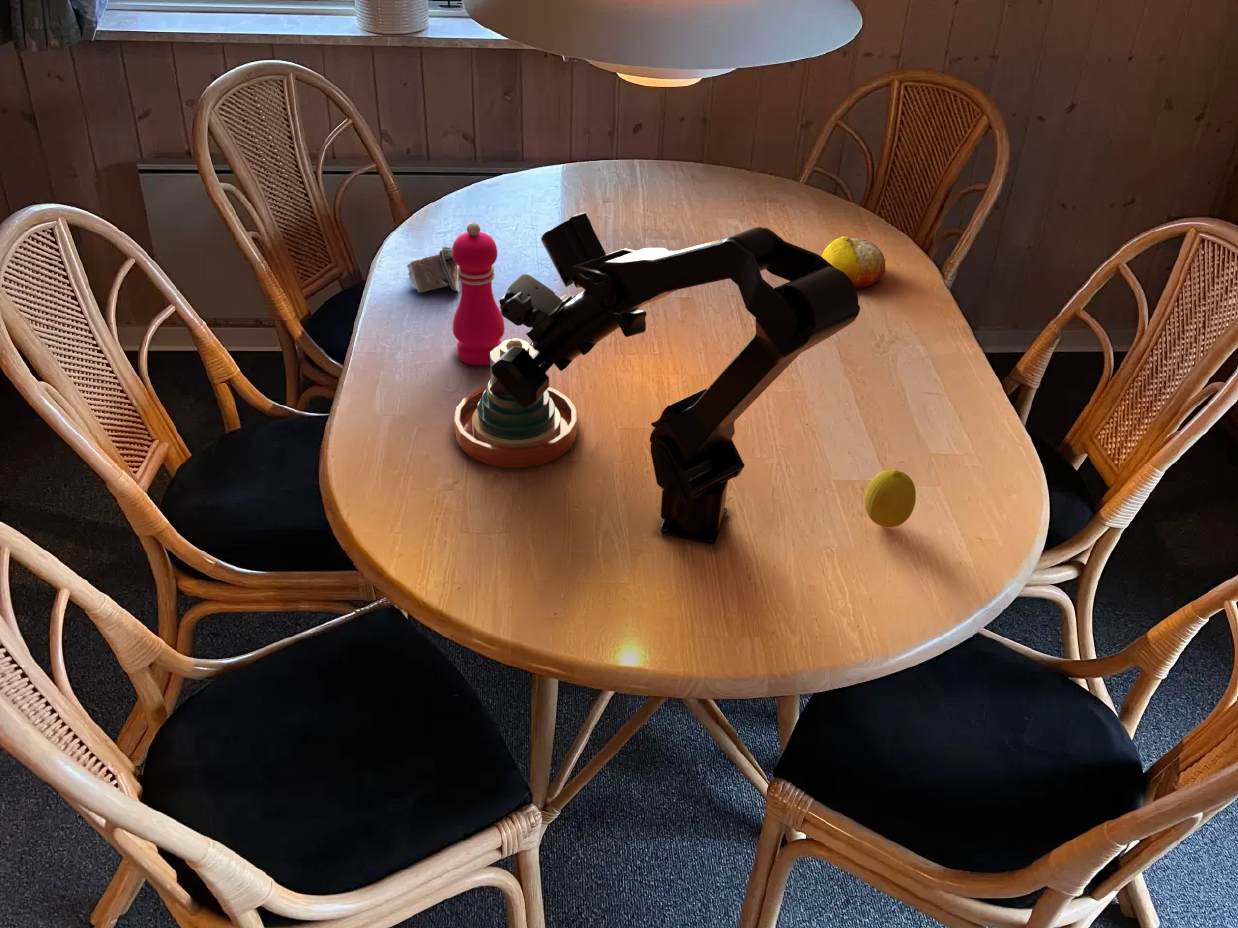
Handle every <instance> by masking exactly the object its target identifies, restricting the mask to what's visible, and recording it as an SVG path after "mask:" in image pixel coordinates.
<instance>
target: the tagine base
mask: <svg viewBox="0 0 1238 928" xmlns="http://www.w3.org/2000/svg"><path fill="white" fill-rule="evenodd" d="M486 389H487V386H486V387H481V388H479V389H477V390H475V391H474V392H472V393H470V394H469V395H467V396H465V397H464V398H463V399H462V400H461V401H460V403H459V404H458V406H456V407H455V410H454V411H455V412H454V418H453V425H454V426H453V427H454V433H455V439H456V442H457V444H458V446H459V447H460V448H461V450H462V451H463V452H464V453H466V454H467V455H468V456H470V457H471V458H473V459H475V460H476V461H479V462H481V463H484V464H486V465H490V466H495V467H501V468H529V467H535V466H538V465H543V464H546V463H549V462H551V461H553V460H556V459H557V458H559V457H561V456H562V455H563V454H565V453H566V452H567V451H568V450H569V449H571V447H572V446H573V444H574V443H575V441H576V438H577V431H578V414H577V413H578V412H577V411H578V409H577V408H576V406H575V405H574V403H573V402H572V401H571V399H570V398H569V397H568V396H566V395H565V394H563V393H562V392H560V391H559V390H557V389H555V388H552V387H550V386H549V387H548V389H547V391H548V393H549V396H550V398H551V399H552V400H553V402H554V404H555V407H556V408H557V409H558V411H559V413H560V416H561V428H560V431H559V433H558V435H557V436H556V437H555V438H554V439H553V440H551V441H548V442H545V443H542V444H539V445H536V446H528V447H519V448H510V447H500V446H493V445H490V444H487V443H484V442H481V441H480V440H479V439H478V438H477V437H476V436H475V434H474V432H473V426H472V416H473V414H474V412H475V410H476V409H477V406H478V403H479V402H480V400H481V399H482V395H483V393H484V391H485V390H486Z"/></svg>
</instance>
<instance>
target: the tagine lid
mask: <svg viewBox="0 0 1238 928" xmlns="http://www.w3.org/2000/svg"><path fill="white" fill-rule="evenodd" d="M513 346H517V347H521V348H525V350H526V351H527V352H528V353H529V354H530V355H531V357H532V358H533V356H534V355H535V354H536V353H537V352H538V350H537V351H536V350H534V348H533V347H532V346H531V345H530V344H529V343H528V341H526V340H524V339H521V338H509V339H506V340H503V341H501V344H500V345H499V346H497V347H495V348H494V349H493V350H492V351H491V353H490V364H489V366H490V368H489V369H490V380H489V381H488V383H487V386H486V387H487V389H486V390H485V391H484V393H483V395H482V399H481V400H480V402H479V403H478V406H477V409H476V410H475V412H474V414H473V416H472V426H473V432H474V434H475V436H476V437H477V438H478V439H479V440H480V441H481V442H484V443H487V444H490V445H493V446H500V447H510V448H519V447H528V446H536V445H539V444H542V443H545V442H548V441H551V440H553V439H554V438H555V437H556V436H557V435H558V433H559V431H560V428H561V416H560V413H559V411H558V409H557V408H556V407H555V404H554V402H553V400H552V399H551V398H550V396H549V393H548V391H547V390H546V391H545V392H544V393H543V394H542V395H541V396H540V398H539V399H538V400H537V401H536V402H534V403H533V404H531V405H530V406H528V407H527V408H525V407H521V406H520V405H519V404H518V403H517V401H516V400H515V399H514V398H513V397H512V396H511V395H509V396H495V395H494V394H493V393H492V392H491V391H490V387H491V386H492V385H493V384H494V382H495V381H496V380H497V378H496V377H495V376H494V375H493V373H492V370H491V366H492V365H493V364H494V363H495V362H496V361H497V360H498V359H499V358H500V357H501V356H502V355H503V354H505V353H506V352H507V351H508V350H509V349H511V348H512V347H513ZM539 366H540V365H539Z"/></svg>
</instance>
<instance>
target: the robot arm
mask: <svg viewBox="0 0 1238 928" xmlns="http://www.w3.org/2000/svg"><path fill="white" fill-rule="evenodd" d="M540 241H541V244H542V245H543V247H544V249H545V251H546V252H547V254H548V256H549V258H550V260H551V263H552V265H553V266H554V268H555V269H556V271H557V273H558V275H559V277H560V279H561V281H562V283H563V285H564V287H566V288H567V287H569V286H571V285H572V284H574V287H575V288H576V289H578V288H582V289H583V291H581V292H580V293H579V294H577V295H575V294H570V293H565V294H564V295H563V296H560V297H559V296H558V295H557V294H556V293H555V292H554V290H553V289H551V288H549V287H548V286H546V285H545V284H544V283H542V282H541V281H539V280H537V279H536V278H535V277H533V276H532V275H530V274H526V273H523V274H521V275H519V277H518V278H517V279H515V280H514V281H513V282H512V283H510V285H509V286H508V288H507V289H506V292H505V294H504V295H503V296H502V297H501V298H500V299H499V301H498V302H499V305H500V306H499V310H500V312H501V314H502V317H503V318H505V319H506V320H507V321H508V322H511V324H514V325H515V326H516V327H517V326H518V327H519V326H522V325H524V326H525V327H526V328H530V329H529V330H528V331H527V332H526V333H525V335H526V336H527V337H528V339H530V341H531V343H530V344H529V345H531V346H532V347H533V348H534V350H536V351H537V350H538V352H537V353H536V354H535V355H534V356H533V358H532V357H531V355H530V354H529V353H528V352H527V351H526V350H525V348H521V347H517V346H513V347H512V348H511V349H509V350H508V351H507V352H506V353H505V354H503V355H502V356H501V357H500V358H499V359H498V360H497V361H496V362H495V363H494V364H493V365H492V366H491V369H490V371H491V370H492V373H493V375H494V376H495V377H496V378H497V380H496V381H495V382H494V384H493V385H492V386H491V387H490V391H491V392H492V393H493V394H494V395H495V396H509V395H511V396H512V397H513V398H514V399H515V400H516V401H517V403H518V404H519V405H520V406H521V407H525V408H527V407H528V406H530V405H531V404H533V403H534V402H536V401H537V400H538V399H539V398H540V396H541V395H542V394H543V393H544V392H545V391H546V390H547V389H548V387H549V388H550V377H549V375H548V374H547V372H548V371H549V370H550V369H551V368H552V367H553V365H555V367H556V368H557V369H558V370H559V372H562V371H564V370H566V369H567V367H568V366H569V365H570V364H571V363H572V362H573V361H574V360H575V359H576V358H578V357H579V356H581V355H582V356H585V355H587V354H588V353H590V352H591V351H592V349H594V347H595V346H596V345H597V344H598V343H599V342H601V341H602V340H604V339H605V338H606V337H608V336H609V335H611V334H612V333H614V332H615V331H616V330H618V329H619V328H620V330H621V333H622V334H623V336H624V337H625V338H630V337H633V336H636V335H640V334H642V333H645V332H646V328H647V322H646V317H647V315H648V314H647V311H645V310H642V309H641V308H640V307H642V306H643V307H644V306H645V305H648V304H650V303H654V302H656V301H658V300H660V299H664V298H665V297H668V296H669V295H671V294H673V293H675V292H677V291H678V290H683V289H688V288H692V287H697V286H701V285H706V284H711V283H715V282H720V281H724V280H731V281H732V282H733V283H734V284H735V285H737V287H738V290H739V292H740V295H741V298H742V301H743V303H744V306H745V309H746V310H747V312H749V314H750V315H752V317H754V318H755V321H754V322H755V334H754V335H753V336H752V338H751V339H750V340H749V341H748V342H747V343H746V345H744V347H743V348H742V349H740V351H739V352H738V354H736V356H735V357H734V358H733V359H732V360H731V362H729V364H728V365H727V366H726V367H725V368H724V370H723V371H722V372H720V374H719V375H718V376H717V377H716V378H715V380H714V381H713V382H712V383H711V384H710V386H709V387H708V388H705V387H704V388H703V389H701V390H698V391H697V392H694V393H692V394H689V395H688V396H686V397H683V398H681V399H679V400H676V401H675V402H673V403H670V404H668V405H667V406H666V407H665V408H664V409H663V411H662V412H661V415H660V416H659V418H658V419H657V420H655V421H653V422H651V423H650V425H651V426H652V427H653V428H654V429H653V430H652V431H651V432H650V434H649V435H650V436H649V442H650V443H651V444H650V448H649V449H650V455H651V460H652V465H653V469H654V476H655V480H656V484H657V486H658V487H659V488H661V489H662V492H661V503H660V505H661V506H660V518H661V520H663V521H662V524H661V526H660V534H663V535H666V536H667V535H668V536H670V537H671V536H672V537H675V538H680V539H685V540H687V541H694V542H697V543H702V544H707V545H711V546H714V545H716V543H717V541H718V539H719V536H720V534H721V532H722V531H721V530H722V528H723V525H724V522H725V519H726V517H727V515H728V509H727V507H726V500H727V493H728V485H729V481H730V480H731V479H733V478H737V477H739V476H740V475H741V473H742V471H743V469H744V468H745V463H744V461H743V459H742V457H741V455H740V453H739V451H738V448H737V447H736V444H735V443H734V440H733V437H734V436H735V432H736V429H735V422H736V420H738V419H739V418H740V417H741V415H742V414H743V413H744V412H745V411H746V410H747V409H748V408H749V407H750V406H751V405H752V404H753V403H754V402H755V401H756V400H757V399H758V398H759V397H760V396H761V395H762V394H763V393H764V392H765V391H766V390H767V388H769V386H770V385H772V384H773V382H774V381H776V379H778V377H779V376H780V375H781V374H782V373H783V372H784V371H785V370H786V369H787V368H788V367H789V366H790V365H791V364H792V362H794V361H795V360H796V359H797V358H798V357H799V355H801V354H803V353H804V352H806V351H808V350H809V349H811V348H813V347H814V346H816V345H818V344H820V343H822V342H824V341H825V340H827V339H828V338H831V337H832V336H834V335H835V334H837V333H839V332H840V331H842V330H843V329H845V328H846V327H848V326H850V325H851V324H853V323H854V322H855V321H856V319H857V318H858V316H859V314H860V310H861V306H860V304H859V294H858V291H857V288H855V286H854V284H853V283H852V281H851V279H850V278H849V277H848V276H847V275H846V274H845V273H844V272H842V271H841V270H839V269H837V268H835V267H834V266H832V265H831V264H830V263H829V262H828V261H826V260H825V259H824V258H823V257H821V256H822V255H820V254H818V253H816V252H813V251H811V250H808V249H805V248H803V247H800V246H797V245H795V244H792V243H791V242H788V241H786V240H784V239H783V238H782V237H780V236H779V235H778V234H777V233H775V231H774V230H771V229H770V228H768V227H762V226H755V227H752V228H749V229H747V230H744V231H741V232H739V233H736V234H733V235H730V236H727V237H725V238H721V239H717V240H713V241H709V242H706V243H701V244H698V245H695V246H691V247H688V248H683V249H680V250H668V249H667V248H665V247H645V248H644V247H643V248H642V249H638V250H634V249H630V248H626V247H625V248H622V249H619V250H616V251H613V252H610V253H608V254H607V253H606V251H605V249H604V247H603V245H602V243H601V241H600V239H599V237H598V236H597V233H596V232H595V230H594V227H593V224H592V223H591V220H590V218H589V216H588V214H587V213H586V212H581V213H577V214H574V215H571V216H570V217H569V218H568V220H566V221H564V222H562V223H560V224H558V225H556V226H555V227H553V228H552V229H551V230H547V231H546V232H544V233H543V234H542V236H541V237H540ZM765 270H766V271H767V272H768V273H769V274H772V275H774V276H776V277H778V278H781V279H784V280H786V281H788V282H785V283H783V284H780V285H778V286H776V287H773V286H772V285H771V284H770V283H768V281H766V280H765V279H764V278H763V276H762V273H761V272H762V271H765ZM539 365H540V366H539Z"/></svg>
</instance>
